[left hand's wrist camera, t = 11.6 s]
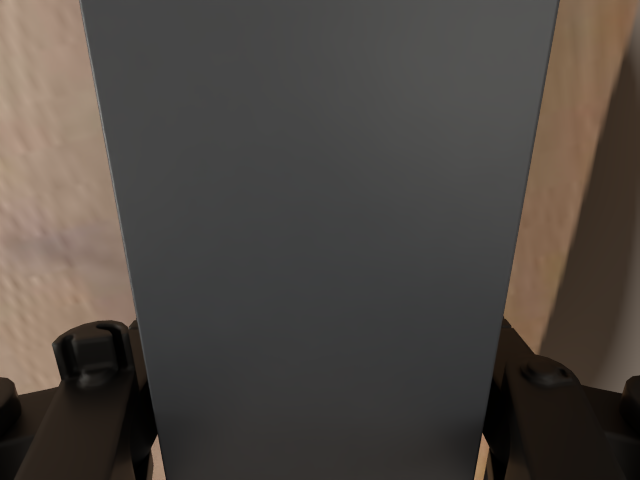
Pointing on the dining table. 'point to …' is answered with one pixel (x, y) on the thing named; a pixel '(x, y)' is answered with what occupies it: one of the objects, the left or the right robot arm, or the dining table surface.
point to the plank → (319, 222)
